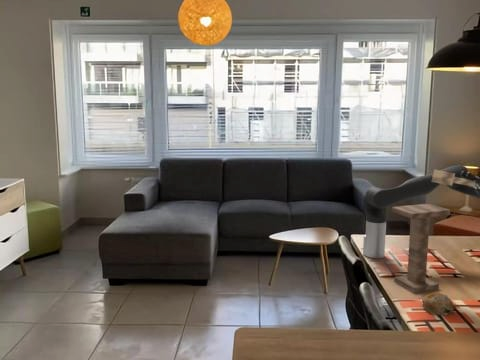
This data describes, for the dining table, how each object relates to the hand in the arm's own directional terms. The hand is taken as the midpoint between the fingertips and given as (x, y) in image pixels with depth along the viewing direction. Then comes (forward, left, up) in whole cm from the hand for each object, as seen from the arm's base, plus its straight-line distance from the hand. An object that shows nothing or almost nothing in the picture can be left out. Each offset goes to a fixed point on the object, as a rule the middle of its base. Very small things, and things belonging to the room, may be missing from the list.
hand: (464, 173), depth 192 cm
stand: (-10, -20, -44) cm, 50 cm away
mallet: (-1, -2, -5) cm, 6 cm away
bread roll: (+4, -37, -45) cm, 58 cm away
